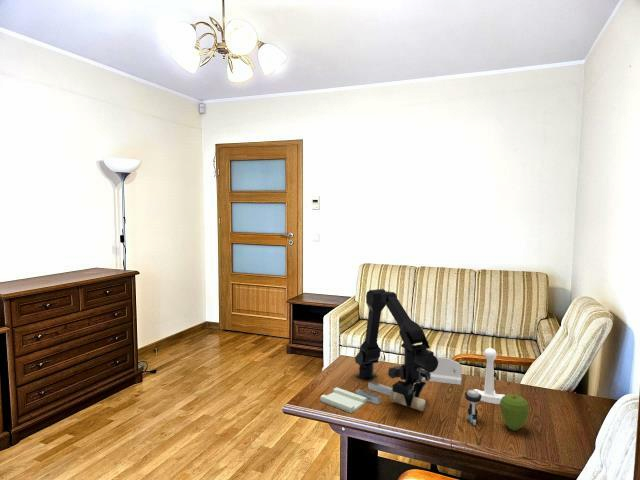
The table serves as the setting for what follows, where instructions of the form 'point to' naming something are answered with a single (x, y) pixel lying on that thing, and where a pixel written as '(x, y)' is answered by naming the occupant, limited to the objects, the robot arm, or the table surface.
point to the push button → (473, 404)
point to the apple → (514, 411)
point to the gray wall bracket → (446, 371)
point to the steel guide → (378, 388)
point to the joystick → (490, 379)
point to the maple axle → (400, 399)
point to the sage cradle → (344, 400)
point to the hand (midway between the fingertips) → (411, 404)
